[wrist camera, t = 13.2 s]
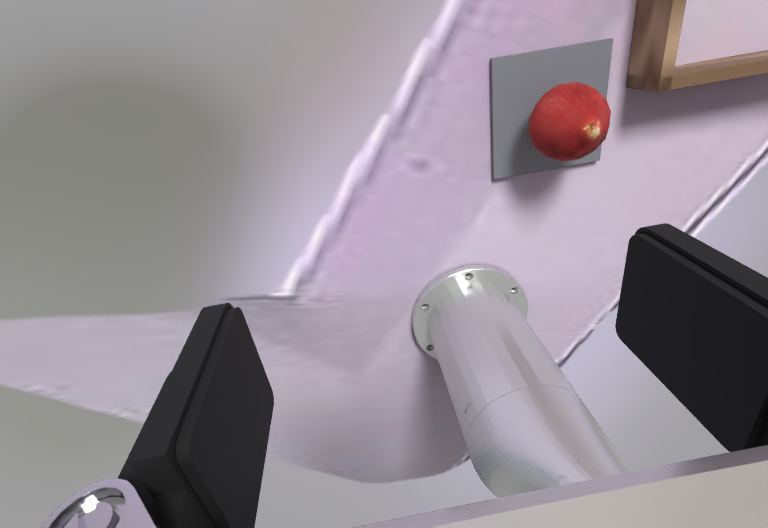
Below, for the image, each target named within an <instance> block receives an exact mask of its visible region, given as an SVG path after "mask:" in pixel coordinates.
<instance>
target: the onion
mask: <svg viewBox="0 0 768 528" xmlns="http://www.w3.org/2000/svg"><path fill="white" fill-rule="evenodd" d="M610 114H611V111H610V108H609V106H608V103H607V100H606V98H605V97H604V96H603V95H602V94H601V93H600V92H598V91H597V90H596V89H595V88H594V87H591V86H589V85H586V84H582V83H579V82H572V83H566V84H560V85H557V86H555V87H554V88H552V89H550V90H549V91H547V92H546V93H545V94H544V95H543V96H542V97H541V99H540V100H539V101H538V102H537V103H536V105H535V107H534V109H533V111H532V114H531V116H530V118H529V130H528V133H529V135H530V138H531V141H532V143H533V145H534V146H535V148H536V149H537V150H538V151H540V152H541V153H542V154H543V155H544V156H546V157H549V158H552V159H555V160H558V161H570V160H578V159H581V158H583V157H584V156H586V155H588V154H590V153H592V152H593V151H595V150H596V149H597V148H598V147H599V146H600V144H601V143H602V142H603V141H604V140H605V138H606V135H607V132H608V128H609V123H610Z"/></svg>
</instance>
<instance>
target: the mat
mask: <svg viewBox="0 0 768 528" xmlns="http://www.w3.org/2000/svg"><path fill="white" fill-rule="evenodd" d="M612 43H613V39H604V40H598V41H593V42H587V43H581V44H575V45H569V46H563V47H557V48H551V49H545V50H539V51H534V52H528V53H522V54H516V55H510V56H504V57H498V58H492V59H490V83H491V138H492V178H493V179H498V178H504V177H509V176H515V175H521V174H526V173H532V172H537V171H543V170H549V169H554V168H560V167H566V166H571V165H577V164H582V163H588V162H594V161H599V160H600V153H601V144H600V146H599V147H598V148H597V149H596V150H595V151H593V152H592V153H590V154H588V155H586V156H584V157H583V158H581V159H578V160H570V161H558V160H555V159H552V158H549V157H546V156H544V155H543V154H542V153H541V152H540V151H538V150H537V149H536V148H535V146H534V145H533V143H532V141H531V138H530V135H529V133H528V130H529V118H530V116H531V114H532V111H533V109H534V107H535V105H536V103H537V102H538V101H539V100H540V99H541V97H542V96H543V95H544V94H545V93H546V92H547V91H549V90H550V89H552V88H554V87H555V86H557V85H560V84H566V83H572V82H579V83H582V84H586V85H589V86H591V87H594V88H595V89H596V90H597V91H598V92H600V93H601V94H602V95H603V96H604V97H605V98H607V89H608V80H609V71H610V61H611V52H612Z"/></svg>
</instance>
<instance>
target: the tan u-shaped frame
mask: <svg viewBox="0 0 768 528" xmlns="http://www.w3.org/2000/svg"><path fill="white" fill-rule="evenodd" d="M685 5H686V0H637V8H636V15H635V23H634V31H633V39H632V46H631V54H630V62H629V69H628V77H627V85H626V87H630V88H637V89H643V90H649V91H656V92H660V91H666V90H672V89H677V88H683V87H689V86H695V85H700V84H706V83H712V82H718V81H723V80H729V79H735V78H741V77H746V76H752V75H758V74H764V73H768V50H766V51H760V52H755V53H749V54H743V55H737V56H731V57H726V58H720V59H714V60H708V61H702V62H697V63H691V64H685V65H679V66H675V61H676V55H677V50H678V44H679V39H680V33H681V27H682V22H683V16H684V11H685Z"/></svg>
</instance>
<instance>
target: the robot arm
mask: <svg viewBox="0 0 768 528" xmlns="http://www.w3.org/2000/svg"><path fill="white" fill-rule="evenodd" d="M467 273H468V274H467ZM527 311H528V305H527V298H526V295H525V293H524V291H523V289H522V288H521V286H520V284H519V283H518V282H517V281H516V280H515V279H514V277H513V276H511V275H510V274H508V273H507V272H506V271H504V270H501V269H499V268H497V267H493V266H488V265H469V266H462V267H459V268H456V269H453V270H450V271H448V272H446V273H444V274H442V275H441V276H439V277H438V278H437V279H435V280H434V281H432V282H431V283H430V284H429V285H428V286H427V287H426V288H425V289H424V291H423V292H422V293H421V295H420V296H419V298H418V300H417V302H416V304H415V307H414V310H413V315H412V326H413V331H414V335H415V337H416V340H417V342H418V344H419V345H420V347H421V348H422V349H423V350H424V351H425V352H426V353H427V354H428V355H429V356H431V357H433V358H435V359H437V360H438V361H439V364H440V367H441V370H442V373H443V376H444V379H445V382H446V385H447V388H448V391H449V394H450V398H451V401H452V404H453V407H454V410H455V413H456V416H457V419H458V422H459V425H460V428H461V431H462V434H463V437H464V440H465V443H466V446H467V449H468V452H469V455H470V458H471V461H472V463H473V465H474V468H475V470H476V472H477V473H478V475H479V477H480V478H481V480H482V481H483V483H484V484H485V485H486V486H487V487H488V488H489V490H490V491H491V492H492V493H493V494H495V495H496V496H497V497H498V498H496V499H491V500H486V501H481V502H476V503H472V504H467V505H462V506H457V507H452V508H447V509H442V510H437V511H432V512H428V513H423V514H418V515H414V516H408V517H403V518H398V519H393V520H389V521H384V522H379V523H374V524H370V525H364V526H360V527H355V528H768V278H767V277H765V276H763V275H762V274H760V273H758V272H756V271H754V270H752V269H751V268H749V267H747V266H745V265H743V264H741V263H740V262H738V261H736V260H734V259H732V258H730V257H728V256H726V255H725V254H723V253H721V252H719V251H717V250H716V249H714V248H712V247H710V246H708V245H707V244H705V243H703V242H701V241H699V240H697V239H696V238H694V237H692V236H690V235H688V234H686V233H685V232H683V231H681V230H679V229H677V228H675V227H674V226H672V225H669V224H659V225H654V226H648V227H643V228H640V229H638V230H637V232H636V233H635V235H633V236H632V237H631V238H630V240H629V245H628V251H627V257H626V263H625V269H624V276H623V282H622V288H621V294H620V300H619V307H618V313H617V319H616V332H617V335H618V336H619V338H620V339H621V340H622V342H623V343H624V344H625V345H627V347H628V348H629V349H630V350H631V351H632V352H633V353H634V354H635V355H636V356H637V357H638V358H639V359H640V360H641V361H642V362H643V363H644V364H645V365H646V367H648V368H649V370H650V371H651V372H652V373H653V374H654V375H655V376H656V377H657V378H658V379H659V380H660V381H661V382H662V383H663V384H664V385H665V386H666V387H667V388H668V389H669V390H670V391H671V392H672V394H673V395H675V397H676V398H677V399H678V400H679V401H680V402H681V403H682V404H683V405H684V406H685V407H686V408H687V409H688V410H689V411H690V412H691V413H692V414H693V415H694V416H695V417H696V418H697V419H698V420H699V422H701V424H702V425H703V426H704V427H705V428H706V429H707V430H708V431H709V432H710V433H711V434H712V435H713V436H714V437H715V438H716V439H717V440H718V441H719V442H720V443H721V444H722V445H723V446H724V447H725V448H726V449H727V450H728V451H730V452H729V453H724V454H720V455H714V456H709V457H703V458H698V459H693V460H688V461H683V462H678V463H672V464H667V465H662V466H657V467H652V468H647V469H642V470H637V471H634V470H633V468H632V467H631V466H630V465H629V464H628V463H627V461H626V460H625V459H624V457H623V456H622V455H621V454H620V452H619V451H618V450H617V449H616V447H615V446H614V445H613V443H612V442H611V441H610V439H609V438H608V437H607V435H606V434H605V433H604V431H603V430H602V428H601V427H600V426H599V424H598V423H597V421H596V420H595V419H594V417H593V416H592V414H591V413H590V411H589V410H588V409H587V407H586V406H585V404H584V403H583V401H582V400H581V398H580V397H579V396H578V394H577V393H576V391H575V390H574V388H573V387H572V385H571V384H570V383H569V381H568V380H567V378H566V377H565V375H564V374H563V373H562V371H561V370H560V368H559V367H558V365H557V364H556V362H555V361H554V360H553V358H552V357H551V355H550V354H549V352H548V351H547V350H546V348H545V347H544V345H543V344H542V342H541V341H540V339H539V338H538V337H537V335H536V334H535V332H534V331H533V329H532V328H531V326H530V325H529V324H528V322H527V321H526V318H527ZM273 406H274V398H273V392H272V388H271V386H270V383H269V381H268V378H267V375H266V373H265V370H264V367H263V365H262V362H261V360H260V357H259V354H258V352H257V349H256V347H255V344H254V341H253V339H252V336H251V333H250V331H249V328H248V326H247V323H246V320H245V318H244V315H243V313H242V310H241V309H240V308H239V307H237V308H233V306H232V305H231V304H230V303H225V304H219V305H214V306H208V307H204V308H203V309H202V310H201V312H200V314H199V316H198V318H197V320H196V322H195V324H194V326H193V328H192V331H191V333H190V335H189V337H188V339H187V341H186V343H185V345H184V347H183V349H182V351H181V353H180V355H179V358H178V360H177V362H176V364H175V366H174V368H173V370H172V372H170V374H169V375H168V377H167V378H166V380H165V382H164V384H163V387H162V389H161V391H160V393H159V395H158V397H157V399H156V401H155V403H154V405H153V407H152V409H151V411H150V413H149V415H148V417H147V419H146V421H145V423H144V425H143V428H142V430H141V432H140V434H139V436H138V438H137V440H136V442H135V444H134V446H133V448H132V450H131V452H130V454H129V457H128V458H127V460H126V463H125V465H124V467H123V469H122V471H121V473H120V475H119V477H118V478H115V479H106V480H102V481H99V482H96V483H94V484H91V485H89V486H87V487H85V488H83V489H82V490H80V491H78V492H77V493H75V494H73V495H72V496H71V497H69V498H68V499H67V500H66V501H64V502H63V503H62V504H61V505H59V506H58V507H57V508H56V509H55V510H54V511H53V513H52V514H51V515H50V516H49V517H48V518H47V519H46V520H45V521H44V523H43V524H42V526H41V527H40V528H254V525H255V519H256V513H257V507H258V501H259V494H260V488H261V482H262V475H263V469H264V463H265V456H266V450H267V444H268V437H269V431H270V425H271V419H272V412H273Z"/></svg>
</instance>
